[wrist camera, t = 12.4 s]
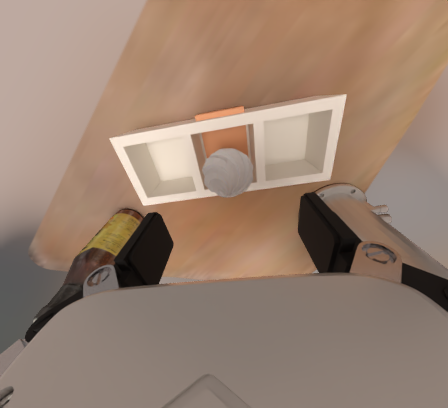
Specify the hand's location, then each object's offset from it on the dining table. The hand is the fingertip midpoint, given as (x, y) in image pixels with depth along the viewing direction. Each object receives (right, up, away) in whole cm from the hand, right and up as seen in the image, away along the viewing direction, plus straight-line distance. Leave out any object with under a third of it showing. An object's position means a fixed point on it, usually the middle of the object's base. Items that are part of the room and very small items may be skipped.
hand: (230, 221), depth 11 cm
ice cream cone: (0, +10, +16) cm, 19 cm away
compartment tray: (0, +11, +16) cm, 20 cm away
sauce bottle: (-21, -2, +25) cm, 33 cm away
